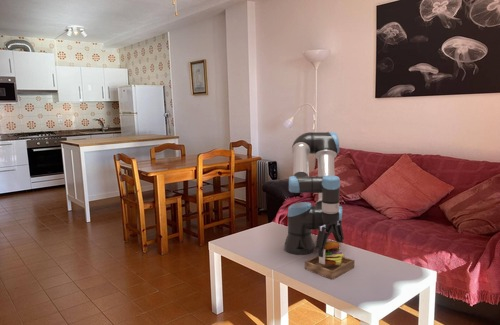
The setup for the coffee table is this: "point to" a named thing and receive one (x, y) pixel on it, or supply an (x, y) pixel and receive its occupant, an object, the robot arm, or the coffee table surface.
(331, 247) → the cheeseburger
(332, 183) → the robot arm
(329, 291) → the coffee table surface
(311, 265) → the crate
